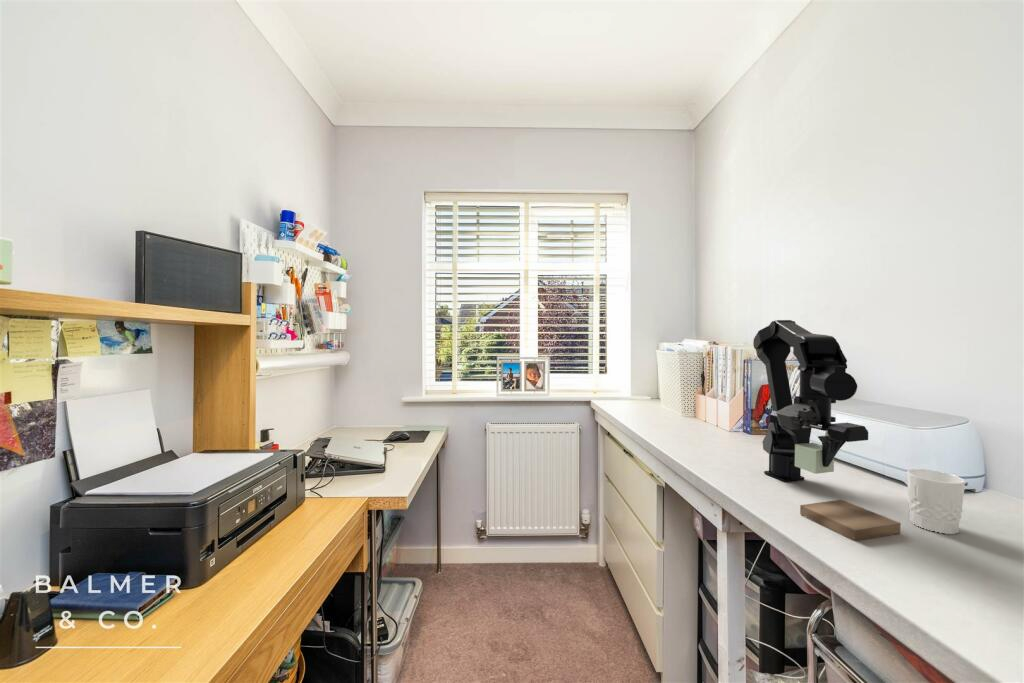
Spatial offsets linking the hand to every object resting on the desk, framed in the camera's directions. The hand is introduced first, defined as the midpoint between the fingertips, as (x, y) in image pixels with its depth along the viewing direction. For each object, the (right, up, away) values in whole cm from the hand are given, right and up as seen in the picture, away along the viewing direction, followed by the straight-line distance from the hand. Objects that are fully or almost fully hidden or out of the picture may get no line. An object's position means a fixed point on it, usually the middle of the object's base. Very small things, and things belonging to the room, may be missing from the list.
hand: (813, 462), depth 93 cm
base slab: (0, -9, -10) cm, 14 cm away
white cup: (+15, -9, -11) cm, 21 cm away
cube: (0, -1, 0) cm, 1 cm away
